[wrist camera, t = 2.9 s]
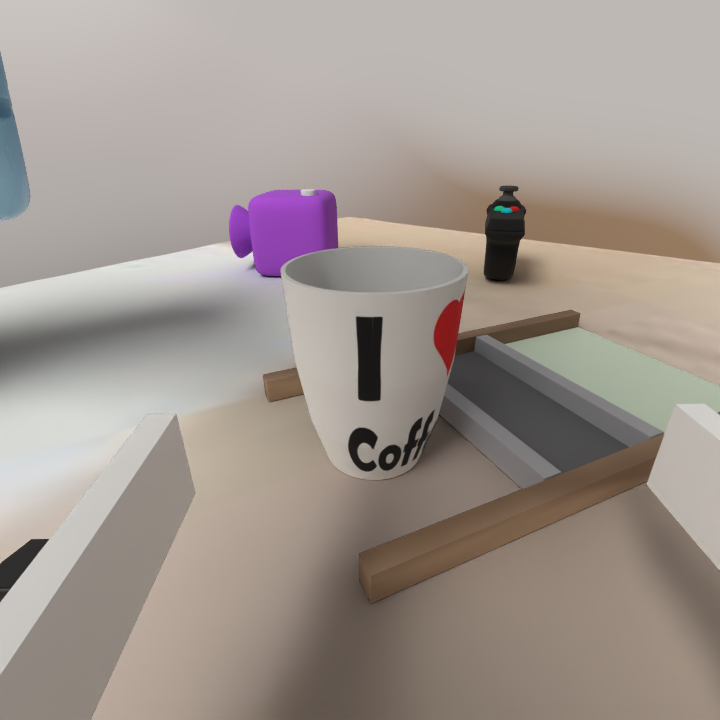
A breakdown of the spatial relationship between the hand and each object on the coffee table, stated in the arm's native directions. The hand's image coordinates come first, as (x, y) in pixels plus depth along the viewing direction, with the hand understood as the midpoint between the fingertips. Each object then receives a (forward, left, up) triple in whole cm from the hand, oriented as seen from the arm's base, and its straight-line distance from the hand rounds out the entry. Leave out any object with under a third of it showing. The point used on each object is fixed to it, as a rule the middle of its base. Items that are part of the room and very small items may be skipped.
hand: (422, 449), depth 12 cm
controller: (-31, +30, -8) cm, 44 cm away
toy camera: (-47, +9, -8) cm, 49 cm away
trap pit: (-9, +12, -7) cm, 17 cm away
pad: (-9, +21, -7) cm, 24 cm away
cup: (-9, +3, -8) cm, 12 cm away
